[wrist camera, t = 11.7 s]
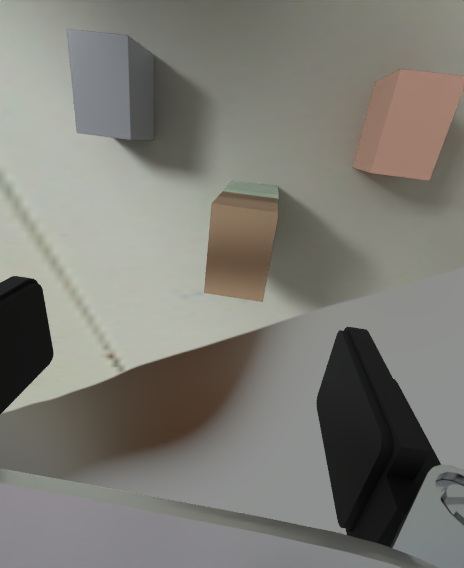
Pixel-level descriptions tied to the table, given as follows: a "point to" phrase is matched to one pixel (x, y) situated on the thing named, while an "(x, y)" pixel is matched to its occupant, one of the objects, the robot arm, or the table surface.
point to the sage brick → (253, 189)
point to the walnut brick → (240, 245)
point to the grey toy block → (111, 85)
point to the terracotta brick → (408, 123)
